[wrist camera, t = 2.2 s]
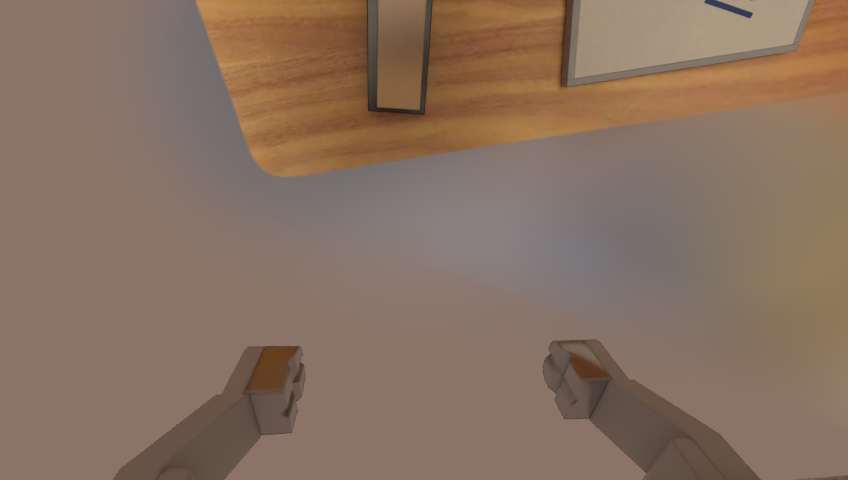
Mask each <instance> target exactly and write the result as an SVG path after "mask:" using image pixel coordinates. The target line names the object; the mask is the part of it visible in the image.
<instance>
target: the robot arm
mask: <svg viewBox="0 0 848 480" xmlns="http://www.w3.org/2000/svg"><path fill="white" fill-rule="evenodd" d="M549 351H550V353H551V354H550V355H549V356H547V357H546V358H545V360H544V364H543V374H544V378H545V381H546V383H547V386H548V388H550V389H551V390H552V391H554V392H555V393H556V396H555V402H556V404H557V406H558V408H559V410H560V412H561V413H562V416H563V418H564V419H590V421H591V422H592V423H593V424H594V425H595V426H596V427H597V428H598V429H600V430H601V431H602V432H603V433H604V434H605V435H606V436H607V437H608V438H609V439H610V440H611V441H612V442H613V443H615V444H616V445H617V446H618V447H619V448H620V449H621V450H622V451H623V452H624V453H625V454H626V455H627V456H628V457H629V458H631V459H632V460H633V461H634V462H635V463H636V464H637V465H638V466H639V467H640V468H641V469H642V470H643V471H644V472H646V473H647V474H646V475H645V477H644V478H643V480H760V479H759V477H758V476H757V475H756V474H755V473H754V472H753V471H752V470H751V468H750V467H749V466H748V465H747V464H746V463H745V462H744V461H743V460H742V458H741V457H740V456H739V455H738V454H737V453H736V452H735V451H734V449H733V448H732V447H731V446H730V445H729V444H728V443H727V442H726V441H725V439H724V438H723V437H722V436H721V435H720V434H719V433H717V432H715V431H714V430H712V429H711V428H709V427H708V426H706V425H705V424H703V423H701V422H700V421H698V420H697V419H695V418H693V417H692V416H690V415H689V414H687V413H685V412H684V411H682V410H681V409H679V408H678V407H676V406H674V405H673V404H671V403H670V402H668V401H667V400H665V399H664V398H662V397H660V396H659V395H657V394H656V393H654V392H652V391H651V390H649V389H648V388H646V387H645V386H643V385H641V384H639V383H638V382H637V381H635V380H629V379H628V377H627V376H626V375H625V374H624V372H623V371H622V370H621V368H620V367H619V366H618V364H617V363H616V362H615V361H614V359H613V358H612V357H611V355H610V354H609V353H608V351H607V350H606V349H605V348H604V346H603V345H602V344H601V342H599V341H598V340H563V341H562V340H561V341H553V342H552V343H551V344H550V346H549ZM302 355H303V354H302V349H301V347H299V346H266V347H263V346H262V347H258V346H256V347H254V346H253V347H250V346H249V347H247V348H246V349H245V350H244V352H243V354H242V356H241V358H240V360H239V362H238V363H237V365H236V367H235V370H234V371H233V373H232V375H231V377H230V379H229V381H228V383H227V385H226V387H225V389H224V391H223V393H222V394H221V395H215V396H214V397H212V398H211V399H210V400H209V401H207V402H206V403H205V404H203V405H202V406H201V407H200V408H198V409H197V410H196V411H194V412H193V413H192V414H191V415H189V416H188V417H187V418H186V419H184V420H183V421H181V422H180V423H179V424H178V425H176V426H175V427H174V428H172V429H171V430H170V431H169V432H167V433H166V434H165V435H163V436H162V437H161V438H159V439H158V440H157V441H156V442H154V443H153V444H152V445H151V446H149V447H148V448H147V449H145V450H144V451H143V452H141V453H140V454H139V455H138V456H136V457H135V458H134V459H133V460H131V461H130V462H129V463H127V464H126V465H125V466H123V467H122V468H121V469H120V470H119V471H118V473H117V474H116V476H115V477H114V479H113V480H224V479H225V478H226V477H227V476H228V474H229V473H230V472H231V471H232V470H233V469H234V468H235V466H236V465H237V464H238V463H239V462H240V460H241V459H242V458H243V457H244V456H245V455H246V454H247V452H248V451H249V450H250V449H251V448H252V447H253V446H254V444H255V443H256V442H257V441H258V439H260V435H271V434H285V433H292V430H293V426H294V422H295V419H296V415H297V412H298V410H297V404H296V402H297V401H298V400H299V399H300V398H301V396H302V393H303V389H304V381H305V368H304V365H303V364H302V363H301V359H302ZM796 480H848V475H846V476H834V477H821V478H808V479H796Z"/></svg>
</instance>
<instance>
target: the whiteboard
mask: <svg viewBox="0 0 848 480" xmlns="http://www.w3.org/2000/svg"><path fill="white" fill-rule="evenodd" d="M814 2H815V0H567V7H566V22H565V37H564V52H563V67H562V82H561V86H563V87H571V86H577V85H583V84H590V83H596V82H602V81H609V80H615V79H621V78H628V77H634V76H640V75H647V74H653V73H659V72H666V71H672V70H678V69H685V68H691V67H697V66H704V65H710V64H716V63H723V62H729V61H735V60H742V59H748V58H755V57H761V56H767V55H774V54H780V53H786V52H793V51H796V50H797V48H798V45H799V44H798V43H799V42H800V39H801V37H802V34H803V31H804V29H805V26H806V23H807V21H808V18H809V15H810V13H811V10H812V7H813V4H814Z"/></svg>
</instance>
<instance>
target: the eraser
mask: <svg viewBox="0 0 848 480" xmlns="http://www.w3.org/2000/svg"><path fill="white" fill-rule="evenodd" d="M431 15H432V0H367V46H368V111H376V112H391V113H406V114H420V115H424V114H425V100H426V86H427V72H428V57H429V43H430V29H431Z"/></svg>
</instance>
